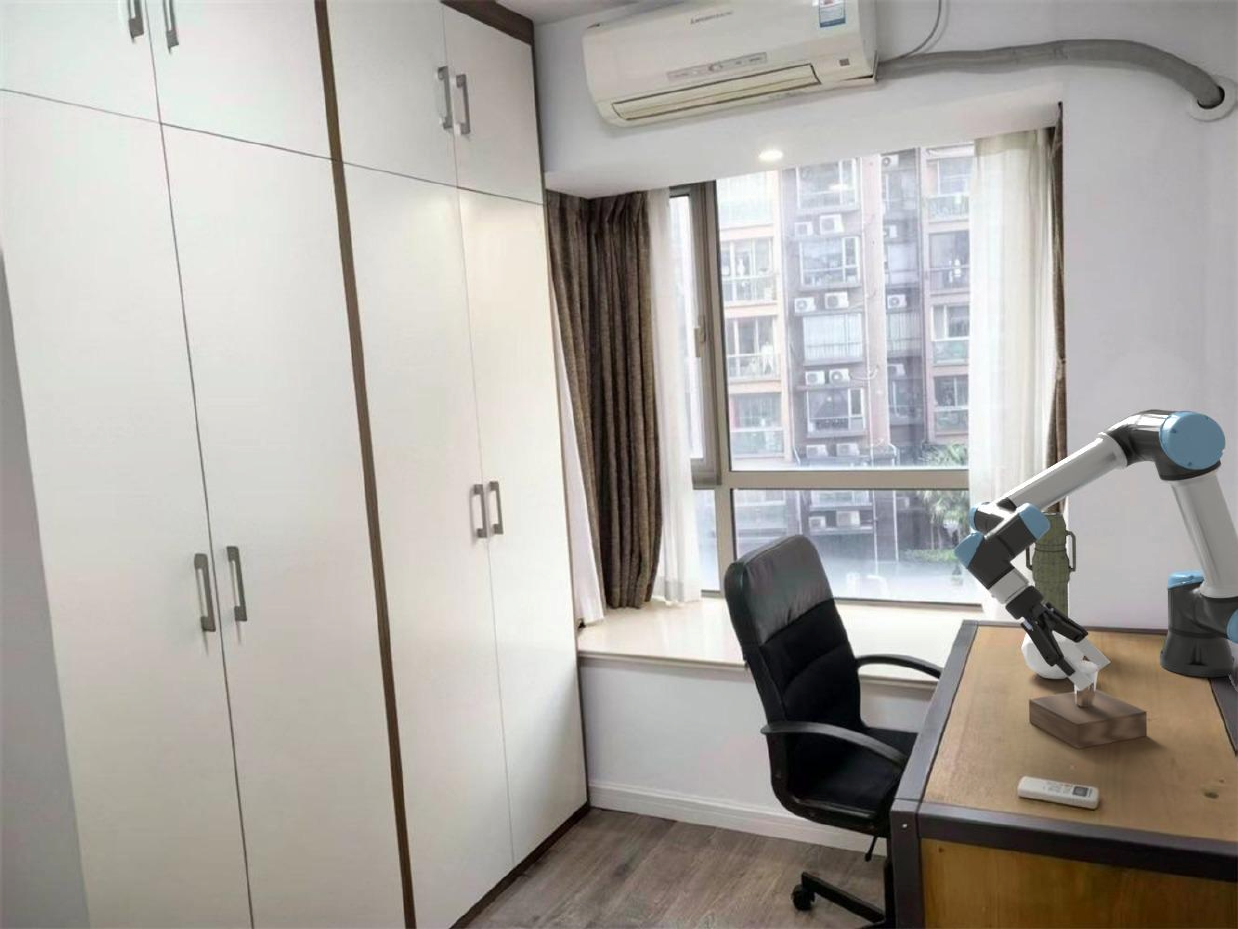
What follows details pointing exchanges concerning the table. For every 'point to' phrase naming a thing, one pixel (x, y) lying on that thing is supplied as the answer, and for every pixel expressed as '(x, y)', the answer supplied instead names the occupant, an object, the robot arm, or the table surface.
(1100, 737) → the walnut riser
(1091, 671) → the milkshake
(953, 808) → the table surface
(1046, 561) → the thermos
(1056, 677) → the geodesic sphere
